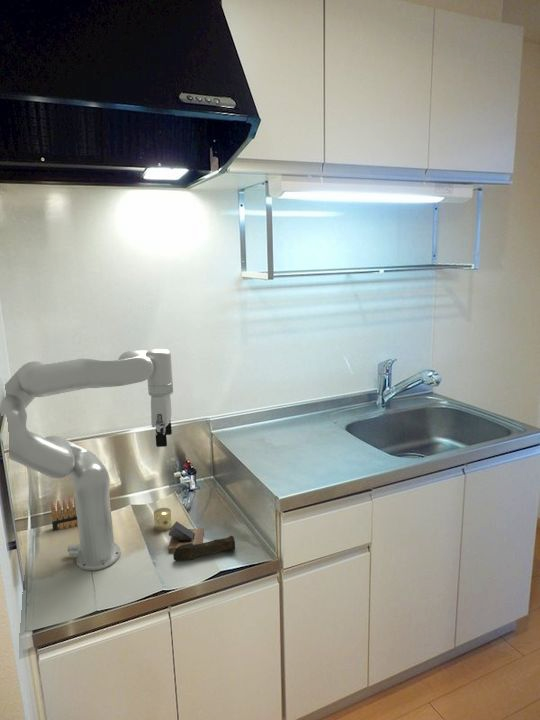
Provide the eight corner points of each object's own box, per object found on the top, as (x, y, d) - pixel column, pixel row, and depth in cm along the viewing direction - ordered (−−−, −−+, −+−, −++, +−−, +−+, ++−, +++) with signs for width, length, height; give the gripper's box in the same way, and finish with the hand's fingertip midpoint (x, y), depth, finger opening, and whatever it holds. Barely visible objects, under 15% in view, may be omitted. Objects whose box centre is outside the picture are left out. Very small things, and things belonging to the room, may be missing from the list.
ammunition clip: (87, 525, 158) (83, 493, 155) (87, 528, 156) (83, 496, 154) (53, 532, 154) (49, 500, 151) (53, 535, 152) (48, 503, 150)
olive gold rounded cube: (153, 534, 152) (152, 517, 150) (156, 524, 157) (155, 508, 156) (170, 533, 152) (169, 516, 151) (173, 524, 158) (171, 507, 156)
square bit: (186, 546, 145) (168, 534, 144) (187, 540, 148) (170, 528, 147) (192, 539, 144) (174, 527, 143) (193, 532, 148) (176, 521, 146)
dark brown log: (233, 544, 145) (232, 531, 144) (236, 551, 141) (235, 538, 140) (173, 556, 140) (172, 542, 139) (174, 564, 136) (173, 550, 135)
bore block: (168, 554, 141) (168, 548, 141) (173, 535, 151) (173, 529, 151) (201, 552, 142) (200, 546, 141) (203, 533, 152) (203, 528, 151)
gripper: (153, 381, 149) (157, 430, 153) (142, 397, 133) (146, 451, 136) (176, 381, 150) (179, 430, 154) (168, 396, 133) (172, 450, 137)
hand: (164, 440), depth 145 cm, fingers open, 9 cm apart
